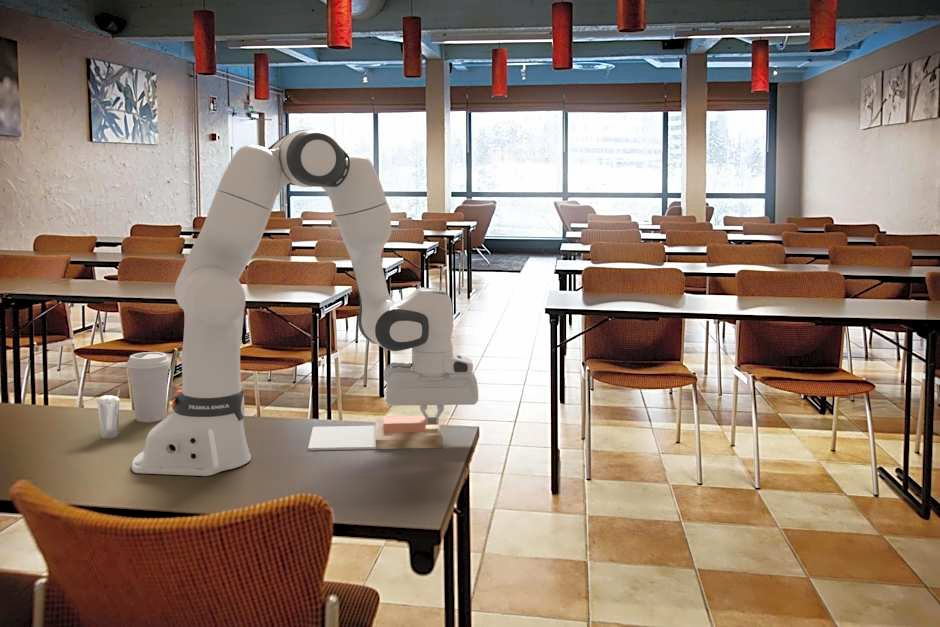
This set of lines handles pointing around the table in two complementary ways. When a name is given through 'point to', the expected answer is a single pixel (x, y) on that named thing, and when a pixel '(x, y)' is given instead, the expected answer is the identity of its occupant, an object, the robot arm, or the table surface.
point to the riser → (408, 438)
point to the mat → (343, 438)
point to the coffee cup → (149, 385)
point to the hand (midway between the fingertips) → (431, 424)
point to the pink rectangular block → (404, 424)
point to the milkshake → (108, 415)
